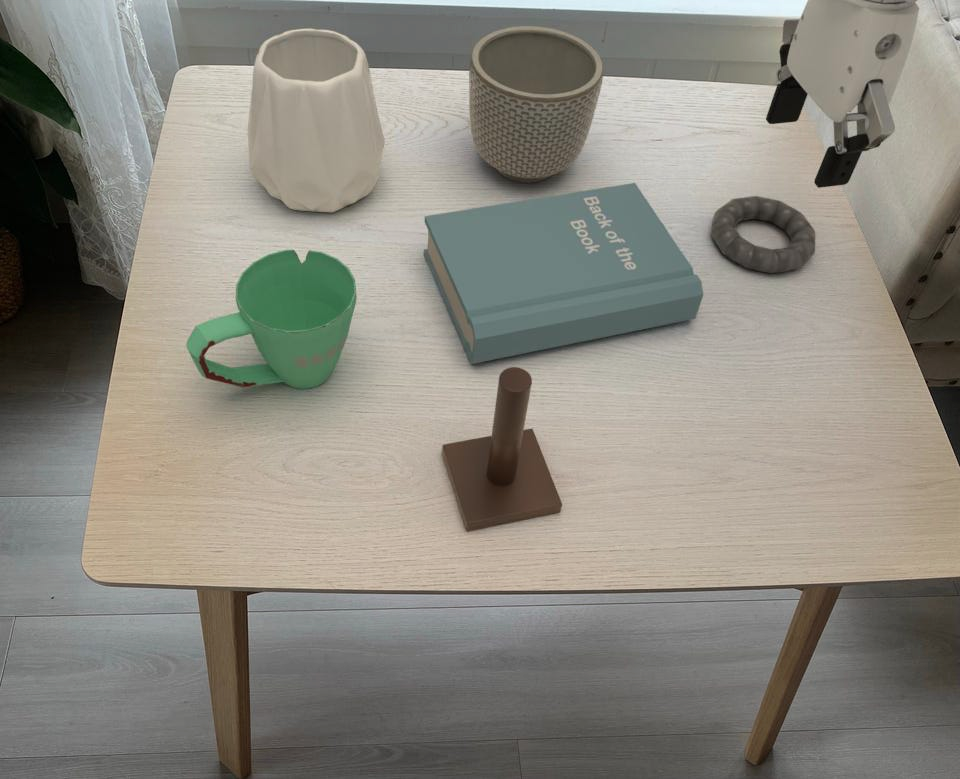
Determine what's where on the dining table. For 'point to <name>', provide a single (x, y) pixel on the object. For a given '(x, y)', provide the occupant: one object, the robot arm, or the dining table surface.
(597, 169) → the dining table surface
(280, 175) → the vase
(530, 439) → the post
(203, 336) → the mug
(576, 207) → the book
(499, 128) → the planter
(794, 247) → the segmented grey ring
